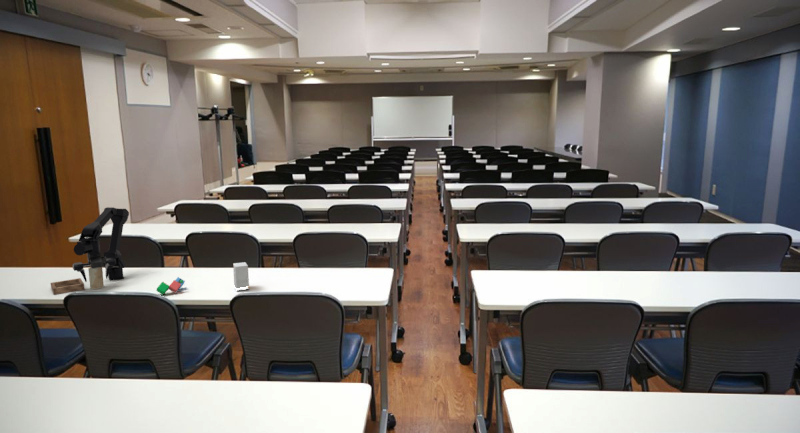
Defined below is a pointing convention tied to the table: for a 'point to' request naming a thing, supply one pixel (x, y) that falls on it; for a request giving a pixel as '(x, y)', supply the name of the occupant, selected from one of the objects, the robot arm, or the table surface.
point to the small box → (240, 275)
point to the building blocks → (173, 286)
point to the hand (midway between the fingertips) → (96, 280)
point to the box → (96, 277)
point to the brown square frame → (67, 286)
